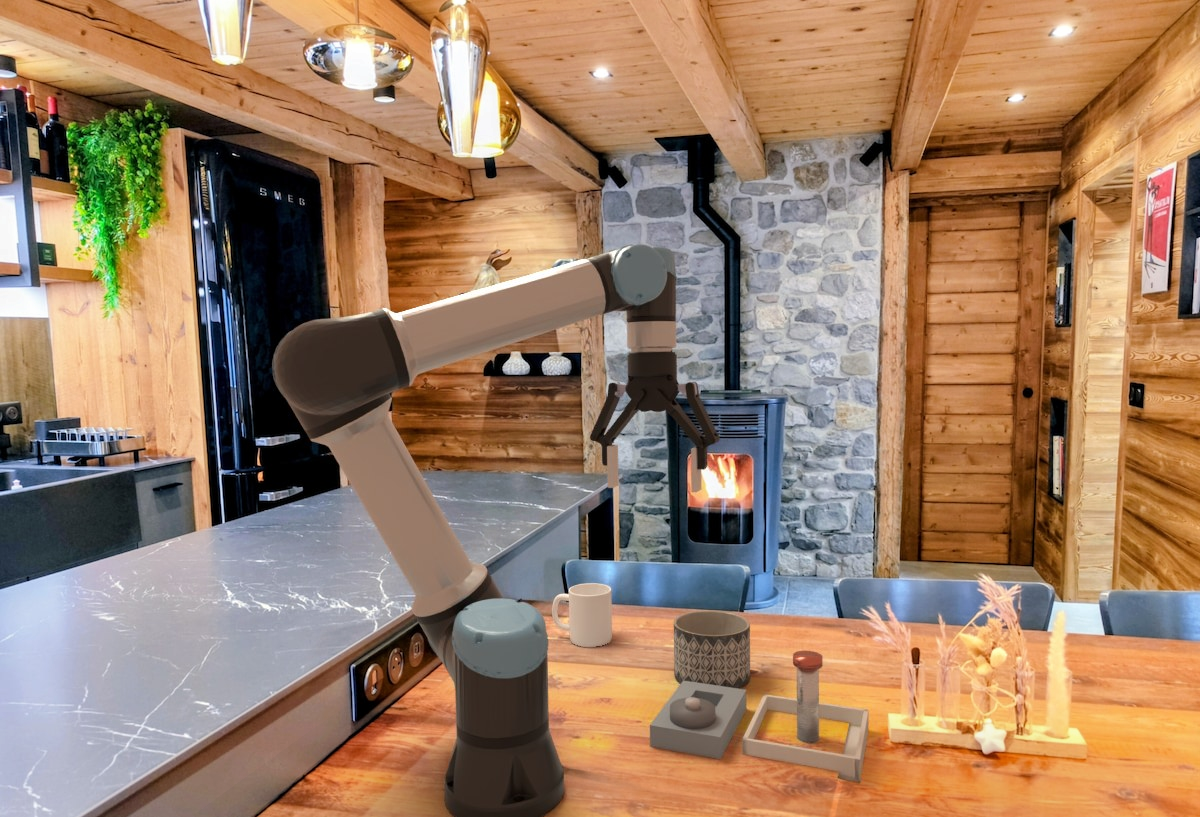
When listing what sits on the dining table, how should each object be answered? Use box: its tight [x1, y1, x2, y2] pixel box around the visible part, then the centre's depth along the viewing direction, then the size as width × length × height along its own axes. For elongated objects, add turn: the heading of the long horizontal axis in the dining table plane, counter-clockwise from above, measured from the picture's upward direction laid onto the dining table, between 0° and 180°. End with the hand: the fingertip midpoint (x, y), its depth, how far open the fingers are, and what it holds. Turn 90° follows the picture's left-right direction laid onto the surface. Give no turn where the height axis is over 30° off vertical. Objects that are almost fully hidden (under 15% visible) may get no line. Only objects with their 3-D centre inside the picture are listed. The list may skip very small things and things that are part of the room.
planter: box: [673, 609, 751, 689], centre depth 132 cm, size 13×13×10 cm
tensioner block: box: [649, 681, 747, 760], centre depth 114 cm, size 16×10×7 cm, turn 157°
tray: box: [741, 693, 870, 783], centre depth 111 cm, size 15×15×3 cm
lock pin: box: [792, 650, 824, 744], centre depth 110 cm, size 4×4×12 cm
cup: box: [551, 582, 613, 648], centre depth 153 cm, size 8×12×10 cm
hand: (653, 488), depth 121 cm, fingers open, 13 cm apart
